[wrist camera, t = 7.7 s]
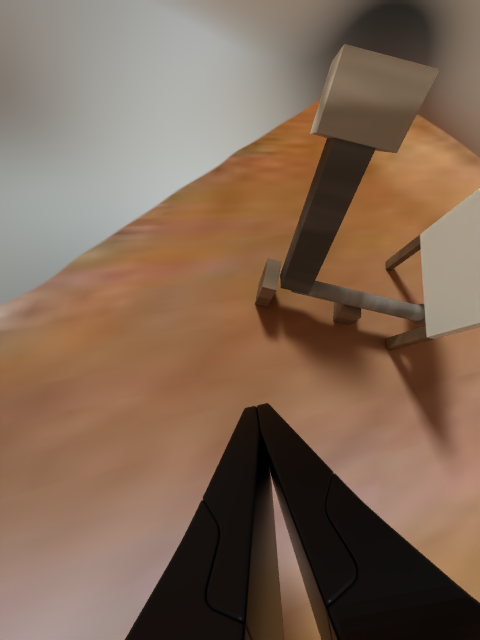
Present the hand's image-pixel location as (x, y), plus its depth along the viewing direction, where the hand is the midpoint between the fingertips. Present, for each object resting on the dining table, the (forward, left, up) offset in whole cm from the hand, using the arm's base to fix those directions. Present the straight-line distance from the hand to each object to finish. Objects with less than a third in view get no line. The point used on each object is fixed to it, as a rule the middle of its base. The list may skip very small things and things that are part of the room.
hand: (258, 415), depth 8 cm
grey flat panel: (+4, -18, -7) cm, 20 cm away
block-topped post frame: (+5, -12, -10) cm, 16 cm away
